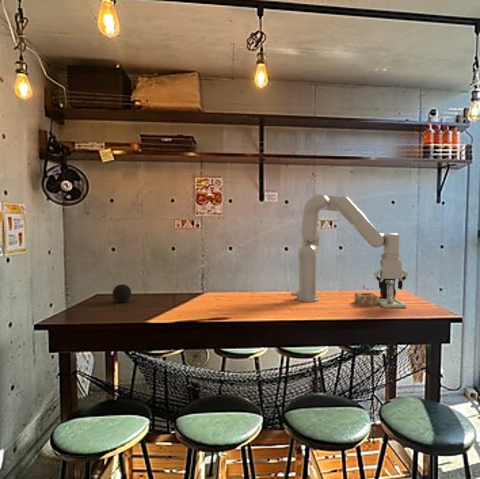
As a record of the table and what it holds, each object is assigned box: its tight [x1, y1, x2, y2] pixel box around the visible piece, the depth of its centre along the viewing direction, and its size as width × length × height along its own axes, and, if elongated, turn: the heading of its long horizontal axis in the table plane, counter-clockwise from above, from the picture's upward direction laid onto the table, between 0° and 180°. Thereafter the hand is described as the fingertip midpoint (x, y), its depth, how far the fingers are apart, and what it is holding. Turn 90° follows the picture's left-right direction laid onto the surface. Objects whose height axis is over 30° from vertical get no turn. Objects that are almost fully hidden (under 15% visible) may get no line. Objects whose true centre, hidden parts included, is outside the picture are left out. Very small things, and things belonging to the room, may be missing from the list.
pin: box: [386, 280, 396, 304], centre depth 192 cm, size 5×5×12 cm
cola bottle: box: [379, 257, 397, 299], centre depth 209 cm, size 8×8×30 cm
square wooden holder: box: [354, 292, 378, 307], centre depth 196 cm, size 9×9×5 cm
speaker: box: [112, 284, 132, 303], centre depth 203 cm, size 10×10×10 cm
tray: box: [377, 298, 407, 309], centre depth 192 cm, size 11×12×2 cm
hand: (390, 289), depth 192 cm, fingers open, 9 cm apart
